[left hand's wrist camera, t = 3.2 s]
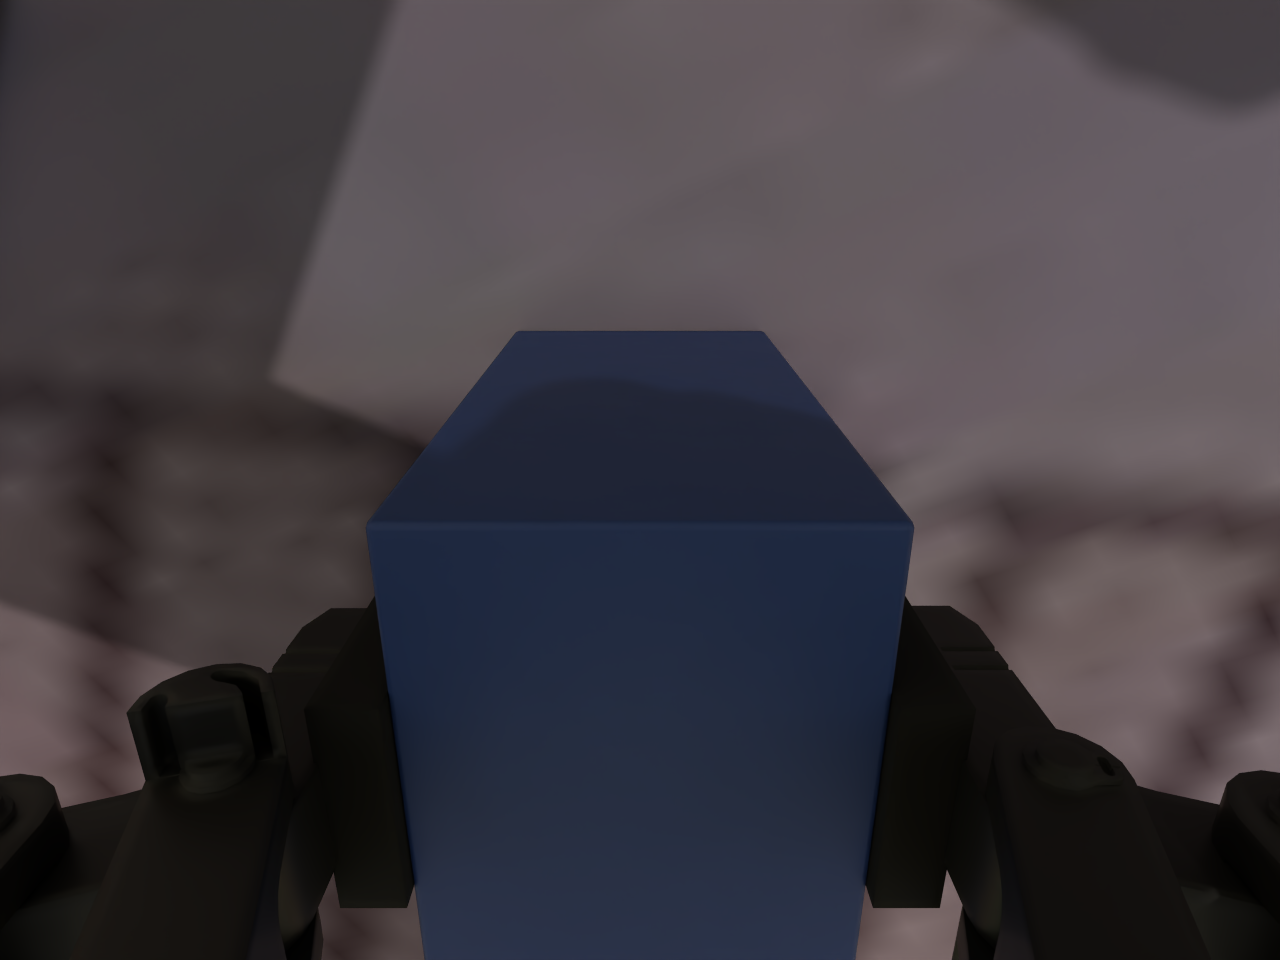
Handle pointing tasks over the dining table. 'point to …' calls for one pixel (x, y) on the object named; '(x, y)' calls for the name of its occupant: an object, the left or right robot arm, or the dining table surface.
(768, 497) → the block
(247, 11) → the dining table surface
